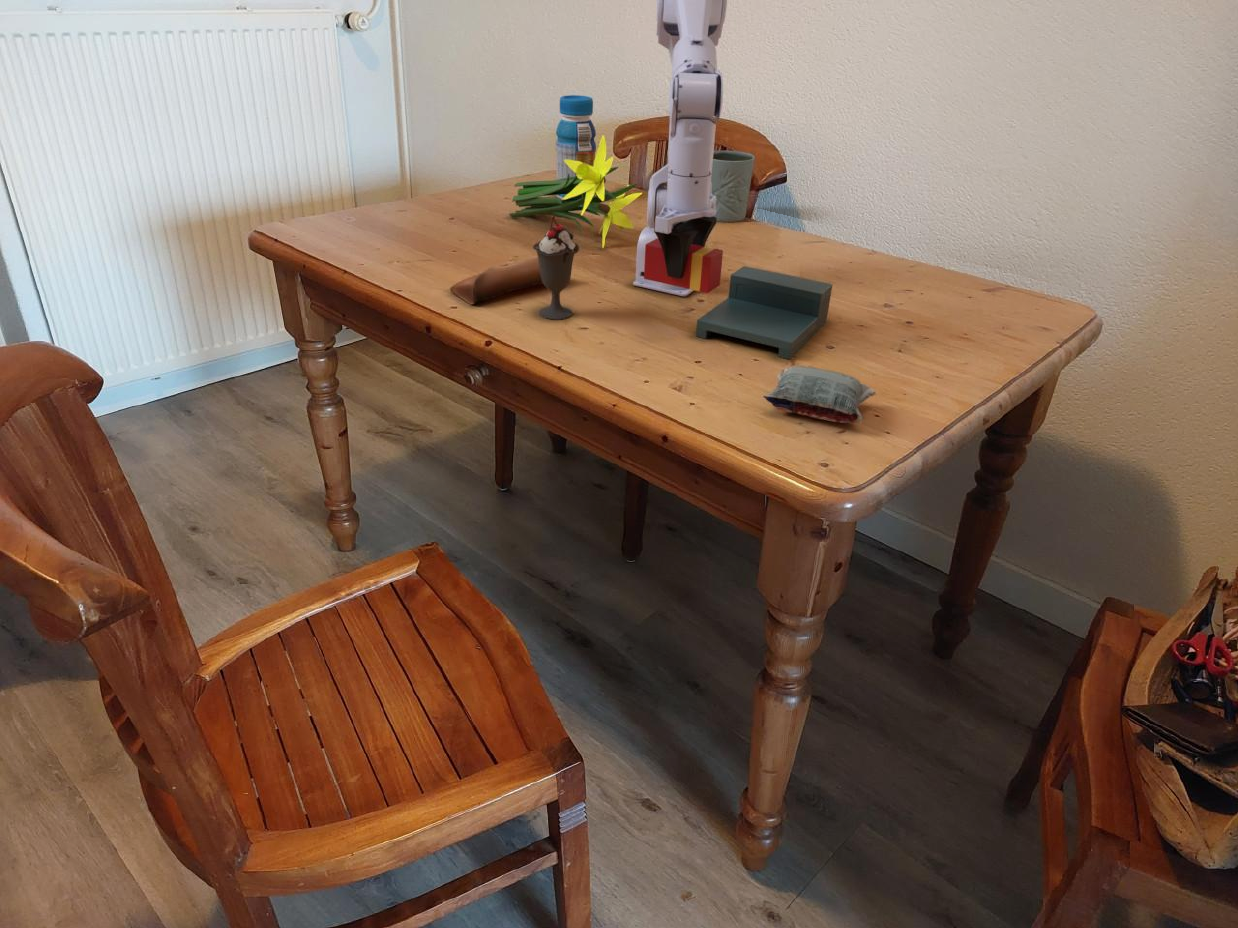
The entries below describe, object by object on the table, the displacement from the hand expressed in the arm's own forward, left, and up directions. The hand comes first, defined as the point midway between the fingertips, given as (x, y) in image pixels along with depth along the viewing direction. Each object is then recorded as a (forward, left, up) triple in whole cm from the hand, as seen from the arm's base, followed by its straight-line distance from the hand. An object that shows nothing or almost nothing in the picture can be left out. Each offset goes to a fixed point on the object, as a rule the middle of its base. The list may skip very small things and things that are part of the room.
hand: (682, 272), depth 121 cm
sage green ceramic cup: (-19, +59, -9) cm, 63 cm away
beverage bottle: (-51, +53, -9) cm, 74 cm away
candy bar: (0, 0, -1) cm, 1 cm away
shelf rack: (+10, +7, -8) cm, 15 cm away
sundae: (-18, -5, -9) cm, 20 cm away
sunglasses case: (-30, 0, -9) cm, 31 cm away
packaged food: (+25, -13, -9) cm, 30 cm away
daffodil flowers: (-39, +30, -9) cm, 50 cm away
